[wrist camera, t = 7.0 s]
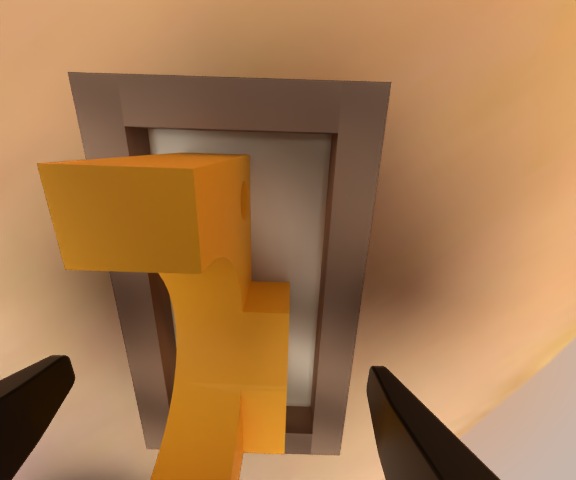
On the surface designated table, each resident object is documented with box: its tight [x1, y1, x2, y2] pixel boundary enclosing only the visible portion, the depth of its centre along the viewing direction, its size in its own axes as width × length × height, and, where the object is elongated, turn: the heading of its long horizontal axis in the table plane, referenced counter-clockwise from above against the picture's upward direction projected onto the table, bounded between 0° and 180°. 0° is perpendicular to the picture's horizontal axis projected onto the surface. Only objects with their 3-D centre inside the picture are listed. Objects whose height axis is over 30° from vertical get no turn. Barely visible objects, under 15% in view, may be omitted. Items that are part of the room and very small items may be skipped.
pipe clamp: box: [37, 152, 290, 480], centre depth 10 cm, size 12×4×6 cm, turn 178°
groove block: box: [68, 72, 391, 455], centre depth 12 cm, size 17×10×2 cm, turn 178°
